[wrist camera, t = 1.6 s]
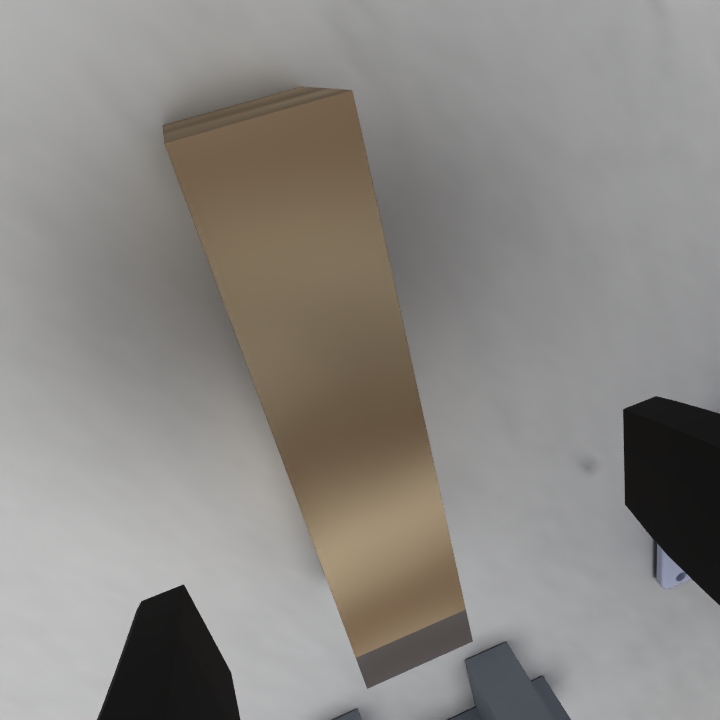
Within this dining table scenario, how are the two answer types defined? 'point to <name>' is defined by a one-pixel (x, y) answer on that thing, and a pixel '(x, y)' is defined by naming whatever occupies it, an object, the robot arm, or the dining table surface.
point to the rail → (328, 359)
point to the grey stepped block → (503, 691)
